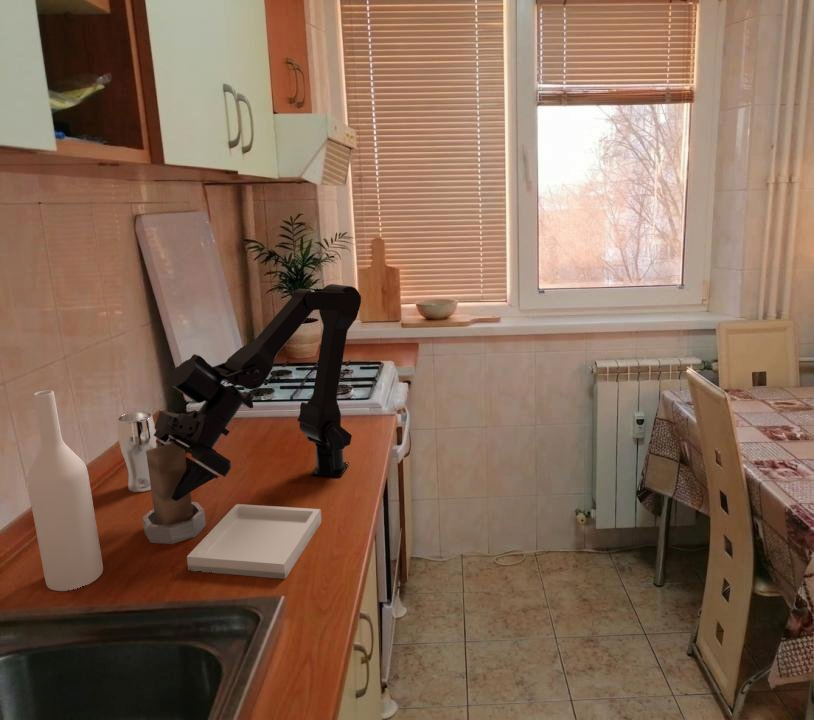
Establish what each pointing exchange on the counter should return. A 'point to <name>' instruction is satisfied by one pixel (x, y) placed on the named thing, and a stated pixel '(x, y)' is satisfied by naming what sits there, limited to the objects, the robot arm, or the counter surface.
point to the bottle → (62, 506)
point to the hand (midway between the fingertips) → (162, 492)
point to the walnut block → (168, 484)
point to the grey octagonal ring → (174, 527)
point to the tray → (256, 541)
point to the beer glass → (137, 447)
